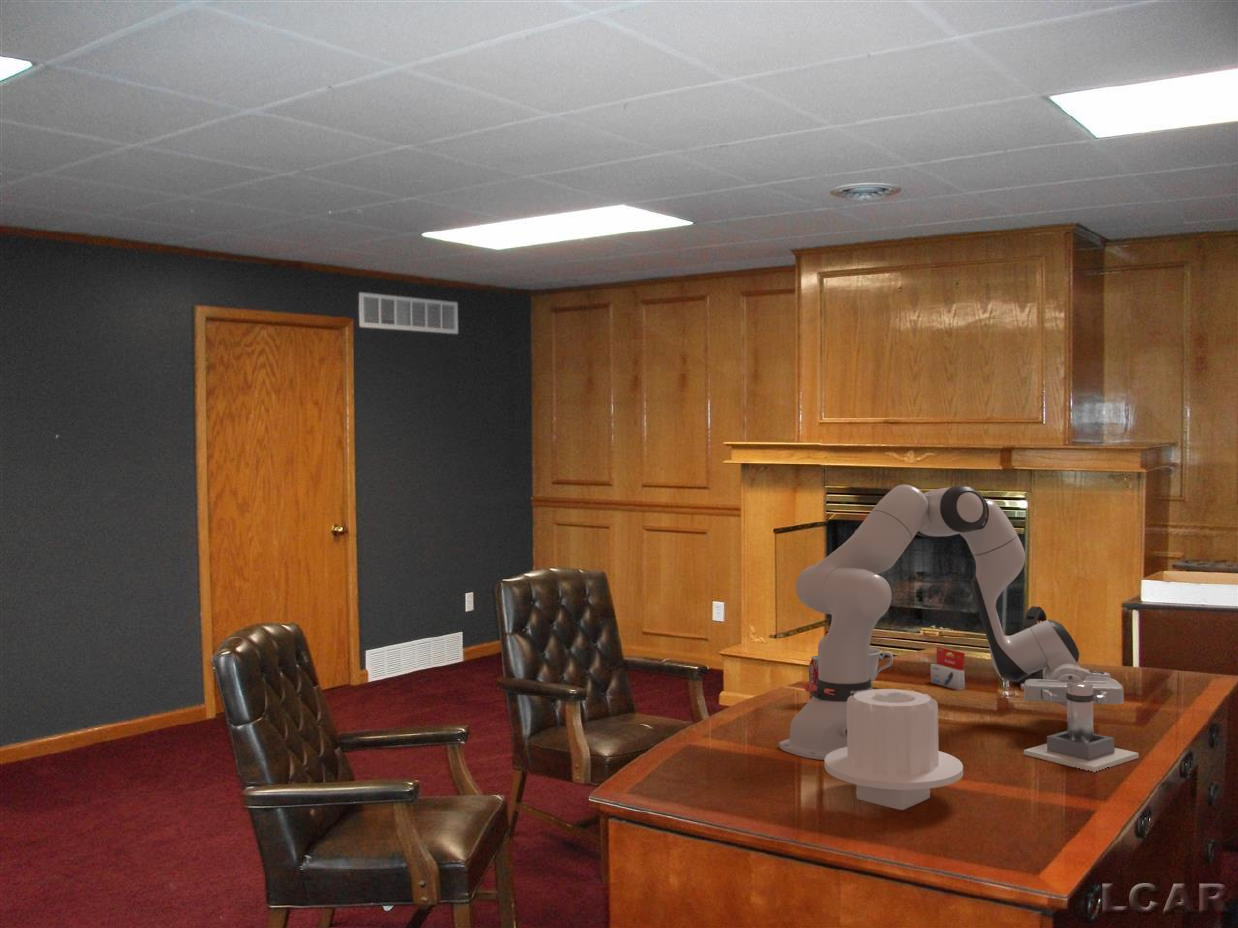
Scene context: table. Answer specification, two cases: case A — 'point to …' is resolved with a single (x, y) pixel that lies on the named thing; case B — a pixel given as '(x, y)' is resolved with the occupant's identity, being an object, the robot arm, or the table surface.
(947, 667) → the ink cartridge box
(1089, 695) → the capped metal cylinder
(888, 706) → the flanged gear
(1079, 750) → the socket mount
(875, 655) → the teacup
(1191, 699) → the table surface
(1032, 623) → the headphones
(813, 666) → the soda can
